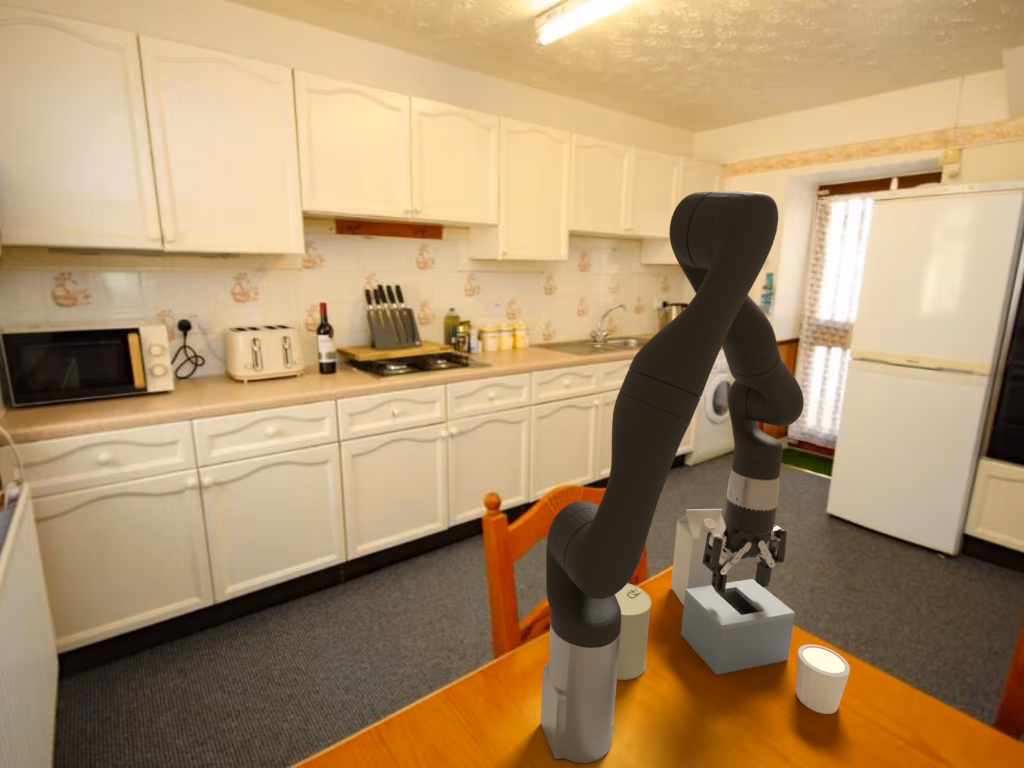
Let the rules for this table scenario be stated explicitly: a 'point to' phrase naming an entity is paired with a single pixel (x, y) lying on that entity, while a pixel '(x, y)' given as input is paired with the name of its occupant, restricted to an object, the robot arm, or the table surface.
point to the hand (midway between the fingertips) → (740, 587)
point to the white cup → (821, 678)
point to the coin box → (737, 626)
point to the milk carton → (694, 549)
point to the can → (633, 631)
